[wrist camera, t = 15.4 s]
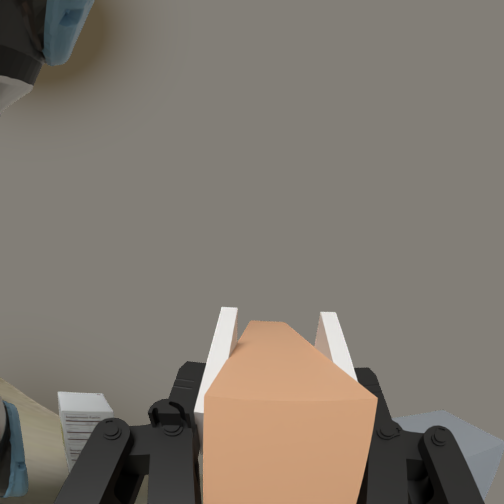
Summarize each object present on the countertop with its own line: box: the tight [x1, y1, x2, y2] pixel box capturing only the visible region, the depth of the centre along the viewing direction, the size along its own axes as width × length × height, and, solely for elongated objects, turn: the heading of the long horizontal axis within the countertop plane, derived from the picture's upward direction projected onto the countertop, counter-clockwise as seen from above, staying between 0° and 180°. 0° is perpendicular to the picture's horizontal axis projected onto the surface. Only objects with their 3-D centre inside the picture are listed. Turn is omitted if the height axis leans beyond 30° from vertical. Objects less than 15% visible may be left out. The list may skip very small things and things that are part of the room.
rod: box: [203, 321, 378, 504], centre depth 21 cm, size 30×4×4 cm, turn 178°
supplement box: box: [58, 392, 114, 473], centre depth 40 cm, size 10×9×17 cm
